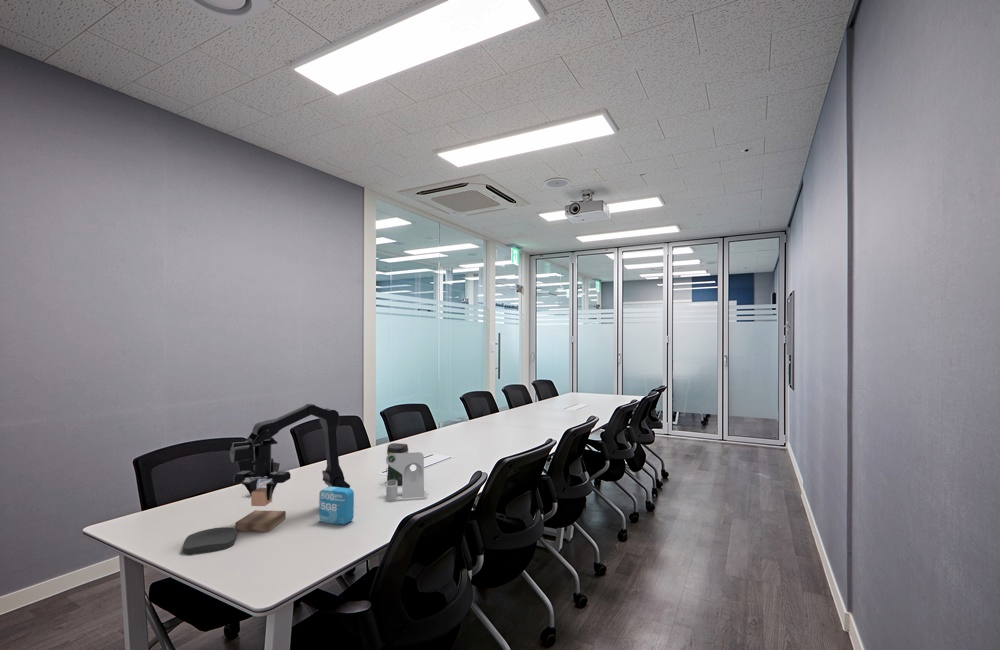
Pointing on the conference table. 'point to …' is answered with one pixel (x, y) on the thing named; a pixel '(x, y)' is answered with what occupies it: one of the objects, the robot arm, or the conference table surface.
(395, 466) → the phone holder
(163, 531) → the conference table surface
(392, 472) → the coffee jar
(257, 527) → the walnut block
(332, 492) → the data package
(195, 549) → the media streaming box
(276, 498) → the conference table surface
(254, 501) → the terracotta block
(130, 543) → the conference table surface
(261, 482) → the medicine box
